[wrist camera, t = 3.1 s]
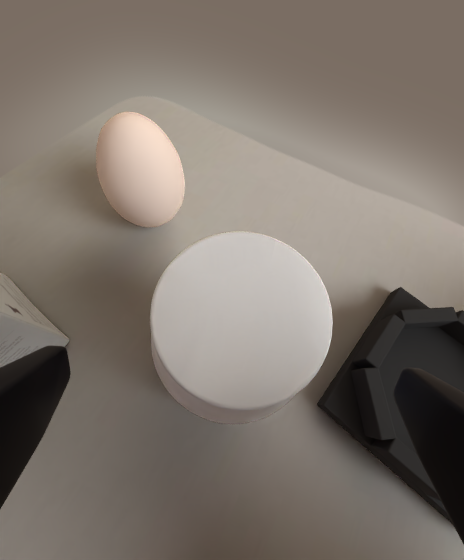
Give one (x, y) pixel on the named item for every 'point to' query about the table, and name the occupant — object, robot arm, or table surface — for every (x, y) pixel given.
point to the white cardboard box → (23, 325)
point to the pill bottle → (238, 326)
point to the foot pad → (384, 375)
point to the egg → (139, 170)
